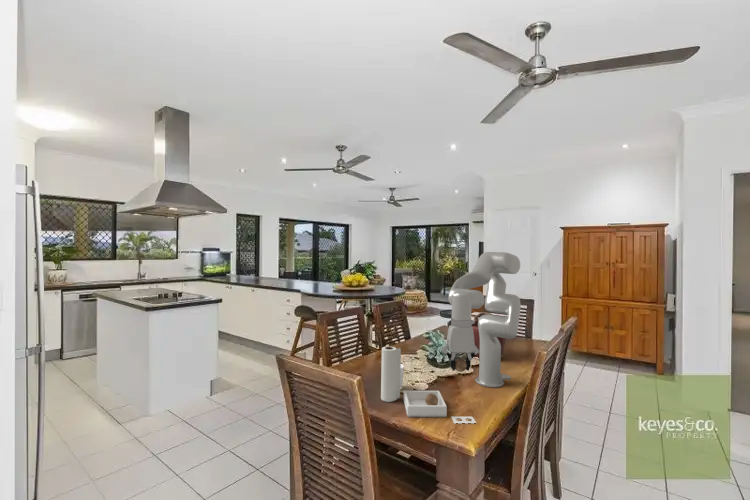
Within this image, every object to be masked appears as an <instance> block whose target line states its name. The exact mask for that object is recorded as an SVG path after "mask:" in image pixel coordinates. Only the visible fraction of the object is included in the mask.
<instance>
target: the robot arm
mask: <svg viewBox="0 0 750 500" xmlns="http://www.w3.org/2000/svg"><path fill="white" fill-rule="evenodd" d="M520 269H521V261H520V258H519V257H518V256H517V255H515V254H512V253H509V252H505V251H503V252H502V251H501V252H500V251H499V252H498V251H486V252H483V253H481V254H480V256H479V257H478V260H477V261H476V263H475V265H474V266H473V268H472V271H469V272H466V274H463V275H462V276H460V277H459V278H457V279H456V280H455V281H454V282H453V285H451V288H450V290H449V293H448V297H447V298H448V303H449V304H450V305H451V321H450V322H451V323H450V324H451V325H449V326H448V329H447V337H446V344H445V345H444V346H443V347H442V349H441V352H442V353H444V355H446V356H447V357H448V358H449V359H450V361H449V366H450V368H451V370H452V371H453V372H454V371H456V369H455V360H456V359H455V357H456V354H465V355H466V357H465V359H464V360H465V361H466V363H467V368H466V370H465V371H468V372H469V371H470V368H471V365H472V364H471V361H472V360H473V359H474V358H473V357H474V356H475V355H476V354H477V353H479V350H478V348H477V347H476V346H475V344H474V333H473V327H472V324H475V320H474V319H472V310H475V309H476V310H478V309H480V308H482V307H483V305H484V308H485V310H486V311H487V312H488V313H491V314H492V315H486V314H484V315H482V316H481V317H478V319H479V320H478V329H479V336H480V357H479V359H478V360H479V363H478V364H479V366H478V375H477V376H476V377H475V383H477V384H478V385H480V386H483V387H487V388H501V387H503V386H505V385H504V384H505V383H504V381H505V380H508V381H510V380H511V379H512V377H511V375H507V374H506V373H501V362H502V361H501V360H502V357H501V345H500V342H499V340H498V339H497V337H501V338H506V340H507V339H509V340H513V339H515V338H516V336H517V335H518V332H519V331H518V330H519V323H520V316H521V299H520V297H519V296H518V295H517V294H513V293H512V294H511V293H506V291H507V290H506V289H507V282H506V281H505V279H504V277H503V276H502V275H501V274H506V275H507V274H508V275H509V274H510V275H516V274H518V273H519V271H520ZM485 285H487V288H486V292H485V293H486V294H484V293H483V292H482V291H480V290H476V289H474V288H479V287H482V286H485ZM494 314H501V315H502V316H501V315H494ZM503 315H507V316H503Z"/></svg>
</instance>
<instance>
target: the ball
mask: <svg viewBox="0 0 750 500" xmlns="http://www.w3.org/2000/svg"><path fill="white" fill-rule="evenodd" d="M425 402H426V404H427V405H437V404H438V398H437V396H436V395H435V394H428V395H427V396H426V398H425Z"/></svg>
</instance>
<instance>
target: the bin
mask: <svg viewBox="0 0 750 500" xmlns="http://www.w3.org/2000/svg"><path fill="white" fill-rule="evenodd" d="M428 394H435V395H436V396H437V398H438V404H437V405H427V404H426V402H425V398H426V396H427V395H428ZM403 403H404V408H405V412H406V416H407V418H447V417H448V416H447V412H448V411H447V410H448V409H447V408H448V407H447V404H446V402H445V400H444V398H443V395H442V394H441V392H440V390H403Z"/></svg>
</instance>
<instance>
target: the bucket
mask: <svg viewBox="0 0 750 500" xmlns="http://www.w3.org/2000/svg"><path fill="white" fill-rule="evenodd" d="M483 315H493V313H491V312H489V311H487V312H479V313H478V314H476V315H475V316H474V317H473V320H474V321H475V324H472V327H473V333H474V344H475V346H476V347H477V348H478V350H479V353H477V354H476V355H475V356H474V357H478V358H479V357H480V336H479V329H478V320H479V318H480V317H481V316H483ZM497 339H498V340H499V342H500V345H501V358H503V353H504V348H505V344H506V340H507V338H501V337H497Z"/></svg>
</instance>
